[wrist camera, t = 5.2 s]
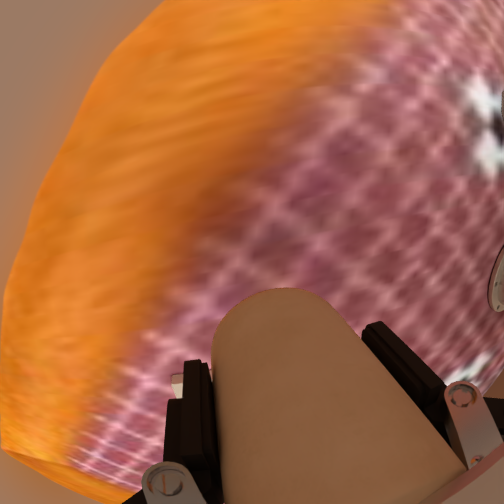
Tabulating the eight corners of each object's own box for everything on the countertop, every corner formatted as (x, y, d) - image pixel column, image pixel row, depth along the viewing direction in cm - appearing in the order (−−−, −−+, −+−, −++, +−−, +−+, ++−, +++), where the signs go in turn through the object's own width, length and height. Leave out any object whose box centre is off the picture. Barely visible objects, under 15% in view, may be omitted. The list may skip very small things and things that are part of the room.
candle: (359, 339, 12) (494, 508, 3) (267, 409, 13) (327, 596, 3) (289, 255, 10) (505, 512, 1) (181, 347, 11) (182, 615, 1)
